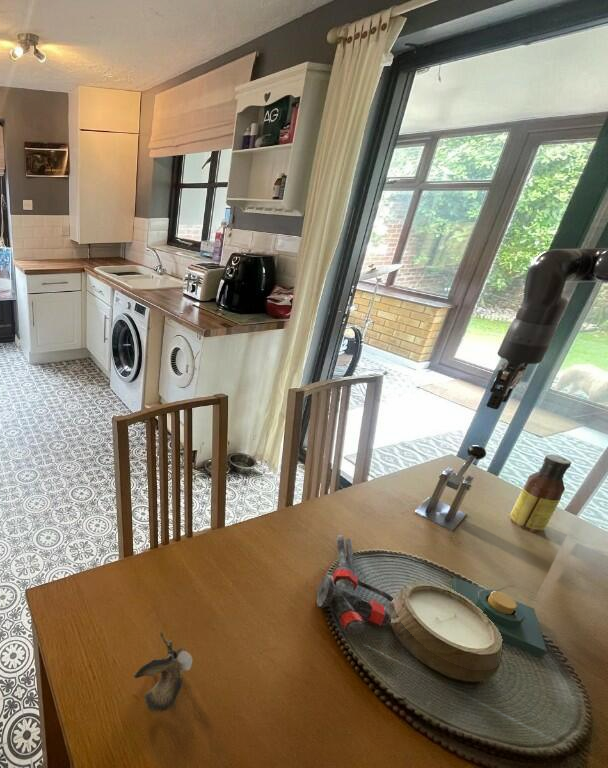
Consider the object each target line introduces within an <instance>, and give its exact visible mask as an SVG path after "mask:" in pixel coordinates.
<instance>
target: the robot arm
mask: <svg viewBox="0 0 608 768" xmlns="http://www.w3.org/2000/svg"><path fill="white" fill-rule="evenodd" d="M524 281H525V282H524V287H523V288H524V289H523V299H522V302H521V303H520V305H519V307H518V310H517V312H516V314H515V316H514V318H513V320H512V322H511V323H510V325H509V326H508V328H507V330H506V333H505V335H504V337H503V340H502V342H501V344H500V346H499V348H498V350H497V356H498V357H499V358H501V359H505V360H506V361H507V362H504V363H503V364H501V365H500V367H499V369H498V371H497V374H496V377H495V379H494V381H493V383H492V386H491V388H490V389H489V393H491V395H490V397H489V399H488V401H487V403H486V407H487V408H489V409H493V410H499V408H500V407H501V405H502V403H507V402H508V401H509V399H510V396H511V394H512V392H513V390H514V389H515V388H517V385H518V384H519V383H520V382H521V381H522V378H523V376H524V375H525V374H526V372H527V370H528V367H527V366H529V365H537V364H540V363H541V362H542V361H543V359H544V357H545V355H546V353H547V351H548V349H549V347H550V345H551V343H552V342H553V339H554V337H555V335H556V332H557V330H558V325H559V324H560V322H561V319H562V318H563V316H564V314H565V311H566V310H567V307H568V304H569V299H568V297H566V296H564V295H563V292H564V288H565V285H566V284H567V283H603V284H608V247H586V248H583V247H581V248H580V247H579V248H553V249H549V250H546V251H544V252H542V253H540V254H539V255H538V256H536V258H534V260H533V261H532V262H531V263H530V265H529V267H528V269H527V272H526V276H525V280H524ZM499 386H500V387H499ZM498 387H499V388H498Z"/></svg>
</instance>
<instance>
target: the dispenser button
mask: <svg viewBox="0 0 608 768" xmlns="http://www.w3.org/2000/svg"><path fill="white" fill-rule="evenodd" d="M493 591H494V592H492V593H491V594H490V596H489V598H488V603H489V604H490V606H491V607H493V608H494V609H496V610H497V611H499V612H501V613H504V614H507V615H510V614H512V613H513V612H514V610H515V609H516V607H517V605H516V603H515V601H516V600H514V599H513V598H512V597H510V596H509V595H508V594H505V593H504V592H500V591H495V590H493Z"/></svg>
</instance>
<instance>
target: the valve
mask: <svg viewBox="0 0 608 768" xmlns="http://www.w3.org/2000/svg"><path fill="white" fill-rule="evenodd" d="M336 543H337V552H338V563H339V565H338V567H337V568H335V570H334V572H333V574H332V575H331V574H329V573H326V574H324V576H323V577H322V579H321V580H320V583H319V586H318V589H317V593H316V604H317V607H318V608H321V609H324V608H326V607H327V606H328V605H330V606H331V608H332V610H333V612H334V613H335V615H336V617H337V618H338V619H339V622H340V625H341V627H342V628H343V629H344V630H345V631H347V632H348V633H349V634H352V635H359V634H361V633H362V632H363V631H364V629H365V625H364V622H365V623H366V622H367V623H368V622H369V623H368V624H370V623H371V624H370V625H373V624H374V625H373V626H375V625H376V626H375V627H380V626H383V627H386V626H388V625H389V624H391V623H390V622H391V618H392V617H391V614H390V612H389V611H388V610H387V609H385V606H384V605H383V604H382V603H380V602H379V603H378V602H377V601H374V600H369V601H368V600H366V599H365V598H362V597H361V596H360V595H359V594H356V590H357V587H358V586H359V587H362V588H364V589H366V590H368V591H371V592H373V593H374V594H377V595H379V596H381V597H383V598H384V599H386V600H387V601H389V602H390V603H391V601H392V600H393V599H395V597H393V596H392V595H390V594H389V593H388V592H386V591H385V590H382V589H381V588H377V587H376V586H373V585H371V584H369V583H367V582H364V581H362V580H361V579H359V578H358V577H357V575H356V571H355V564H354V557H353V549H352V548H353V547H352V540H351V539H350V538H344V536H343V535H342V534H338V535H336ZM345 545H346V546H345ZM345 547H346V548H345ZM345 549H346V550H345ZM346 556H347V557H346ZM347 563H348V567H347ZM390 617H391V618H390ZM363 619H364V620H363Z"/></svg>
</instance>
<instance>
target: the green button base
mask: <svg viewBox="0 0 608 768" xmlns="http://www.w3.org/2000/svg"><path fill="white" fill-rule="evenodd" d="M451 582H452V583H451V584H452V589H453V590H454V591H456V592H457V593H460V594H461V595H463V596H465V597H466V598H468V599H469V600H471V601H472V602H473V603H474V604H475V605H476V606H477V607H479V608H480V609H481V610H482V611H483V613H484V614H486V615H487V617H488V618H489V619H490V620H491V621H492V622H493V623H494V625H495V626H496V627H497V628H498V630H499V632H500V633H501V636H502V639H503V642H502V643H504V644H506V645H507V646H508V645H509V646H511V647H513V648H515V647H516V648H515V649H518V650H520V651H522V652H525V653H527V654H529V655H531V656H534V657H536V658H539V659H543V657H544V656H545V654H546V653H547V646H546V644H545V640H544V637H543V634H542V630H541V626H540V624H539V619H538V617H537V613H536V611H535V610H536V609H535V608H534V607H532V606H530V605H527V604H524V603H522V602H519V601H517V600H514V601H515V603H516V605H517V607H516V609H515V610H514V612H513V613H512V614H510V615H507V614H504V613H501V612H499V611H497V610H496V609H494V608H493V607H491V606H490V604H489V603H488V598H489V596H490V594H491V593H492V592H494V591H495V590H493V589H486V588H483V587H480V586H478V585H475V584H473V583H471V582H468V581H465V580H462V579H460V578H457V577H454V578H453V580H452V581H451Z"/></svg>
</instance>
